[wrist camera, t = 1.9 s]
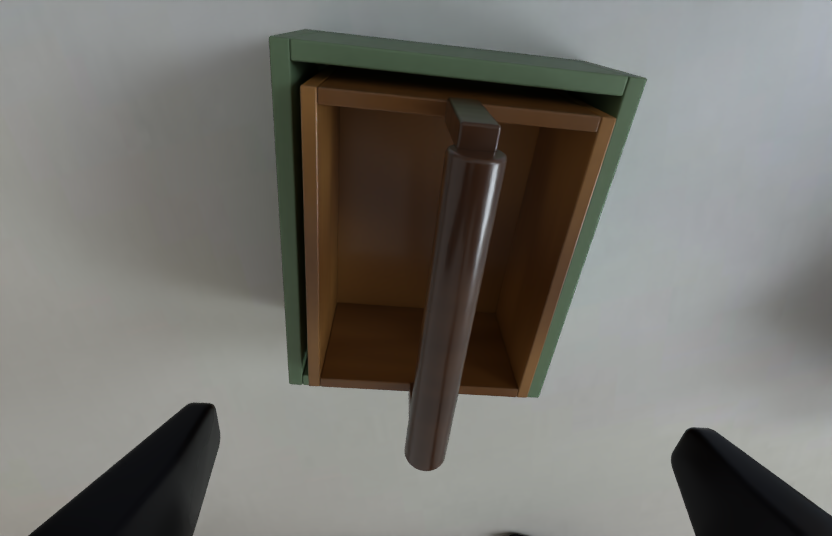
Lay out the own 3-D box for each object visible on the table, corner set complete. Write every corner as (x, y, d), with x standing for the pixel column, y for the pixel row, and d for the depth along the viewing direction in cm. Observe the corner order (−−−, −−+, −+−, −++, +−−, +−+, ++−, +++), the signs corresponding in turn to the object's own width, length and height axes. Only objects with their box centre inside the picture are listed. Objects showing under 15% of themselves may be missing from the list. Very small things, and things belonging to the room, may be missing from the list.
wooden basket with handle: (329, 59, 15) (258, 108, 7) (557, 84, 15) (699, 152, 8) (328, 305, 20) (286, 477, 12) (500, 316, 20) (554, 488, 13)
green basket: (304, 28, 14) (268, 35, 11) (585, 60, 15) (648, 78, 11) (310, 312, 20) (289, 384, 16) (513, 326, 21) (538, 398, 17)
